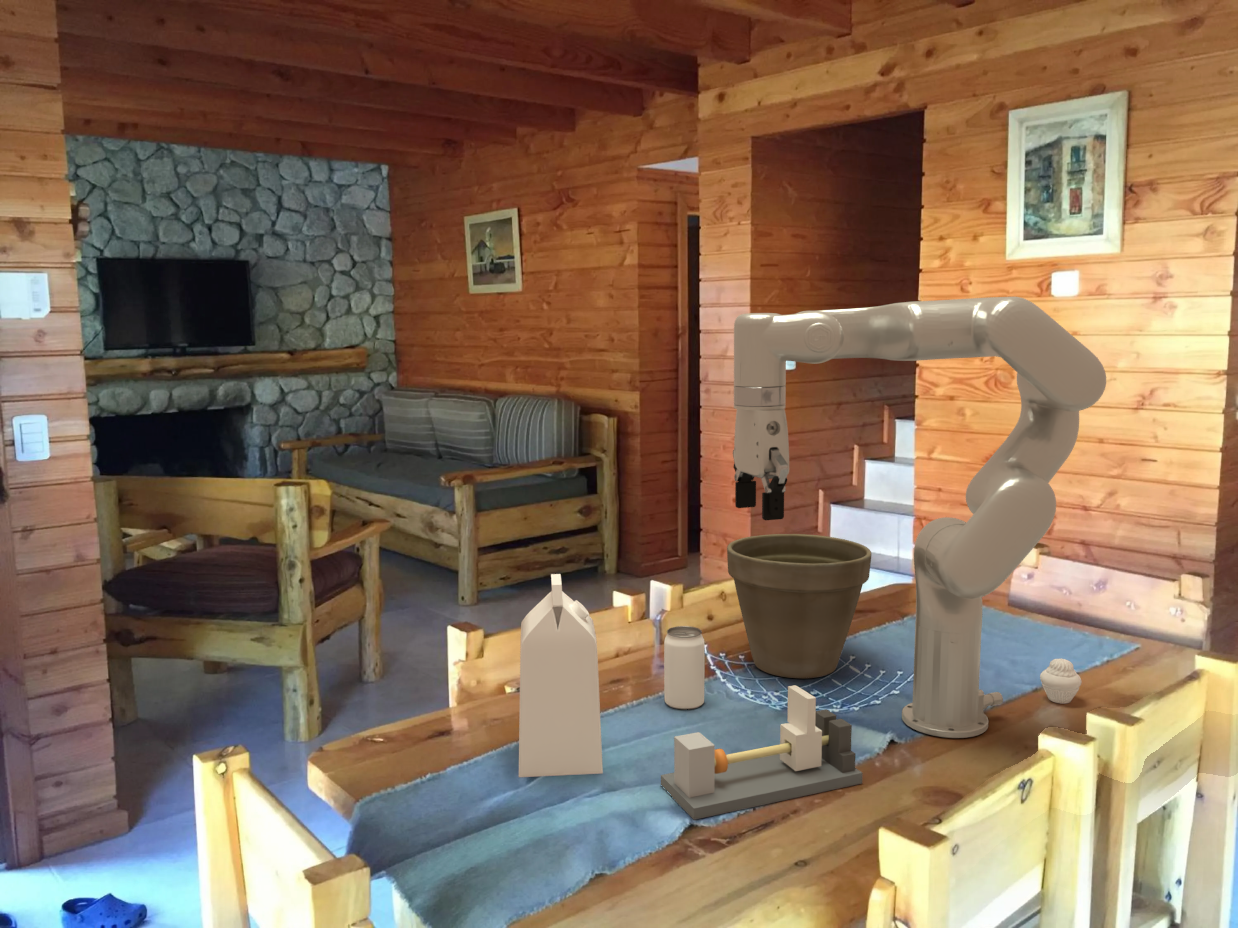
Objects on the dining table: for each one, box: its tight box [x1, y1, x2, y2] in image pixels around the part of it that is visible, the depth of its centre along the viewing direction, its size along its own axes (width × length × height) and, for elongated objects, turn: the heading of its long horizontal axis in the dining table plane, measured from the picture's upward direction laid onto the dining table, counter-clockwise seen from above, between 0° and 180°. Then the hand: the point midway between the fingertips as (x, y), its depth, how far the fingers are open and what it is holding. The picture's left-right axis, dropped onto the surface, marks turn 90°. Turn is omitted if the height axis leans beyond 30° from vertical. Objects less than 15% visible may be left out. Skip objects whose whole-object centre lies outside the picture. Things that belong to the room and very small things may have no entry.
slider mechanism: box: [660, 708, 863, 821], centre depth 134 cm, size 25×10×8 cm, turn 112°
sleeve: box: [779, 685, 822, 771], centre depth 136 cm, size 4×5×10 cm
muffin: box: [1039, 658, 1082, 704], centre depth 163 cm, size 6×6×7 cm
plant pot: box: [726, 533, 872, 679], centre depth 179 cm, size 25×25×22 cm
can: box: [663, 625, 706, 711], centre depth 163 cm, size 6×6×12 cm
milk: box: [518, 573, 604, 778], centre depth 142 cm, size 12×12×26 cm
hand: (758, 513), depth 150 cm, fingers open, 9 cm apart
